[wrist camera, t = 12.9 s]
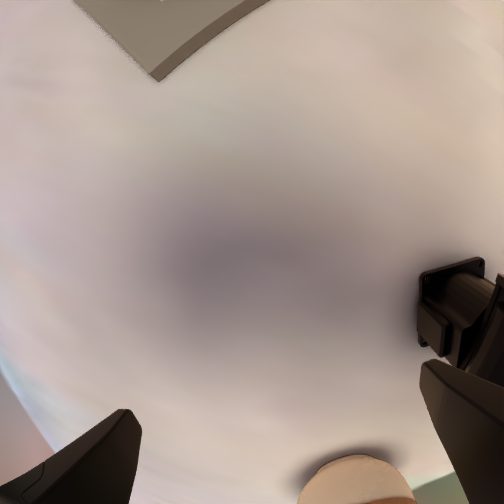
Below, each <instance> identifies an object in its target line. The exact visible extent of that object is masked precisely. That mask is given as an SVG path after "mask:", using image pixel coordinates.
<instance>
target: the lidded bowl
mask: <svg viewBox="0 0 504 504" xmlns="http://www.w3.org/2000/svg"><path fill="white" fill-rule="evenodd" d="M297 504H417V502H416V501H415V499H414V496H413V494H412V491H411V489H410V487H409V485H408V483H407V482H406V480H405V478H404V477H403V476H402V474H401V473H400V472H399V471H398V470H397V469H396V468H395V467H393V466H392V465H390V464H388V463H387V462H384V461H381V460H378V459H374V458H373V457H371V456H369V455H350V456H345V457H341V458H338V459H335V460H333V461H331V462H329V463H327V464H325V465H324V466H322V467H321V468H320V469H319V470H318V471H317V472H316V475H315V476H314V477H313V478H311V480H310V481H309V482H308V483H307V484H306V485H305V487H304V488H303V490H302V492H301V494H300V497H299V499H298V502H297Z"/></svg>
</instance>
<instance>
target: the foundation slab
mask: <svg viewBox="0 0 504 504" xmlns="http://www.w3.org/2000/svg"><path fill="white" fill-rule="evenodd" d="M74 1H75V2H76V3H77V4H78V5H79V6H80V7H81V8H82V9H84V10H85V11H86V12H87V13H88V14H89V15H90V16H91V17H92V18H93V19H94V20H95V21H96V22H97V23H98V24H99V25H100V26H101V27H102V28H103V29H104V30H105V31H106V32H107V33H109V34H110V35H111V36H112V37H113V38H114V39H115V40H116V41H117V42H118V43H119V44H120V45H121V46H122V47H123V48H124V49H125V50H126V51H127V52H128V53H129V54H130V55H131V56H132V57H133V58H134V59H135V60H136V61H137V62H138V63H139V65H140V66H141V67H142V68H143V69H144V70H145V71H146V72H147V73H148V74H149V75H151V76H152V77H153V78H155V79H156V80H157V81H158V82H160V81H161V80H162V79H163V78H164V77H165V76H166V75H168V74H169V73H170V72H171V71H172V70H173V69H174V68H176V67H177V66H178V65H179V64H180V63H181V62H183V61H184V60H185V59H186V58H188V57H189V56H190V55H191V54H192V53H194V52H195V51H196V50H198V49H199V48H200V47H201V46H203V45H204V44H205V43H207V42H208V41H209V40H211V39H212V38H213V37H215V36H216V35H217V34H219V33H220V32H221V31H223V30H224V29H226V28H227V27H229V26H230V25H231V24H233V23H234V22H236V21H237V20H239V19H240V18H242V17H243V16H245V15H246V14H248V13H249V12H251V11H253V10H254V9H256V8H257V7H259V6H261V5H262V4H264V3H266V2H267V1H269V0H74Z"/></svg>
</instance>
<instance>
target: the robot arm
mask: <svg viewBox="0 0 504 504" xmlns="http://www.w3.org/2000/svg"><path fill="white" fill-rule="evenodd" d="M479 262H480V264H479ZM484 270H485V261H484V259H483V258H481V257H476V258H473V259H470V260H466V261H463V262H460V263H456V264H453V265H449V266H446V267H442V268H439V269H435V270H431V271H428V272H424V273H423V274H422V275H421V276H420V279H419V285H420V301H419V302H418V315H417V331H418V332H419V337H418V343H419V344H420V346H421V347H427V346H430V347H431V348H432V349H433V350H434V352H435V353H436V354H437V355H438V356H439V357H440V358H442V357H445V358H446V359H447V360H448V361H449V363H450V364H451V365H452V366H451V365H449V364H446V363H444V362H442V361H439V360H437V359H431V360H428V361H426V362H424V363H423V364H422V366H421V374H420V383H419V385H420V390H421V393H422V395H423V398H424V401H425V403H426V406H427V409H428V411H429V414H430V417H431V420H432V422H433V425H434V428H435V430H436V432H437V434H438V436H439V438H440V440H441V442H442V444H443V446H444V448H445V450H446V453H447V455H448V457H449V459H450V461H451V463H452V465H453V467H454V470H455V472H456V474H457V476H458V478H459V481H460V483H461V485H462V487H463V490H464V492H465V494H466V497H467V499H468V501H469V504H504V275H503V274H499V273H498V275H497V278H496V281H495V282H496V284H494V283H492V282H491V281H489V280H487V279H486V278H484ZM427 277H428V279H427V281H425V278H427ZM424 340H425V342H423V341H424ZM141 436H142V428H141V425H140V424H139V422H138V420H137V419H136V417H135V415H134V414H133V412H132V411H131V410H129V409H118V410H117V411H115V412H114V413H112V414H111V415H110V416H108V417H107V418H106V419H104V420H103V421H101V422H100V423H99V424H97V425H96V426H94V427H93V428H92V429H90V430H89V431H87V432H86V433H85V434H83V435H82V436H80V437H79V438H77V439H76V440H75V441H73V442H72V443H70V444H69V445H67V446H66V447H64V448H63V449H61V450H60V451H59V452H57V453H56V454H54V455H53V456H51V457H50V458H48V459H47V460H45V462H42V463H41V464H39V465H38V466H36V467H35V468H33V469H31V470H30V471H28V472H26V473H25V474H23V475H21V476H19V477H17V478H15V479H14V480H12V481H10V482H8V483H6V484H4V485H2V486H0V504H129V500H130V496H131V492H132V487H133V483H134V479H135V475H136V471H137V465H138V458H139V450H140V443H141Z"/></svg>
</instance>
